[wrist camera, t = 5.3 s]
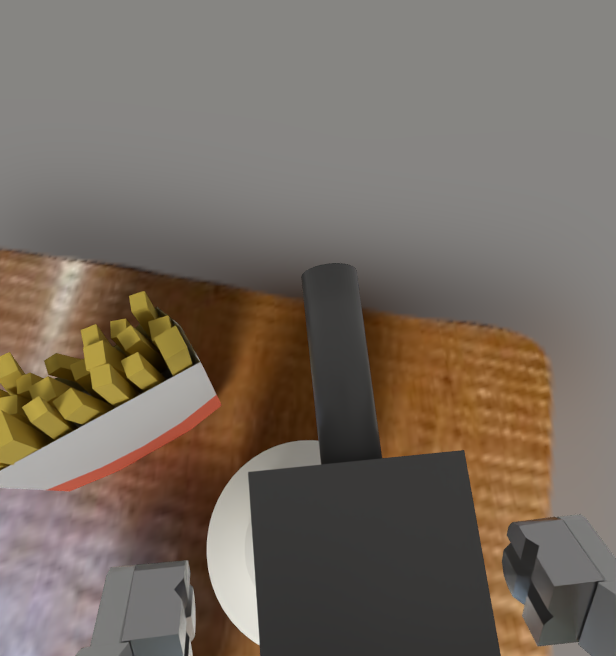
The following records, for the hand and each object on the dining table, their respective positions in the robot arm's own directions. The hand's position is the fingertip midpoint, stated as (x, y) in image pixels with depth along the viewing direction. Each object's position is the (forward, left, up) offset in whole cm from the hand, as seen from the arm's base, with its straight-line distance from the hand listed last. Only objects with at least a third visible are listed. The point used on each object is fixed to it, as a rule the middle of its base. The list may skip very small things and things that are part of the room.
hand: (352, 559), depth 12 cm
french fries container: (-10, +7, -28) cm, 31 cm away
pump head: (0, +1, -7) cm, 7 cm away
